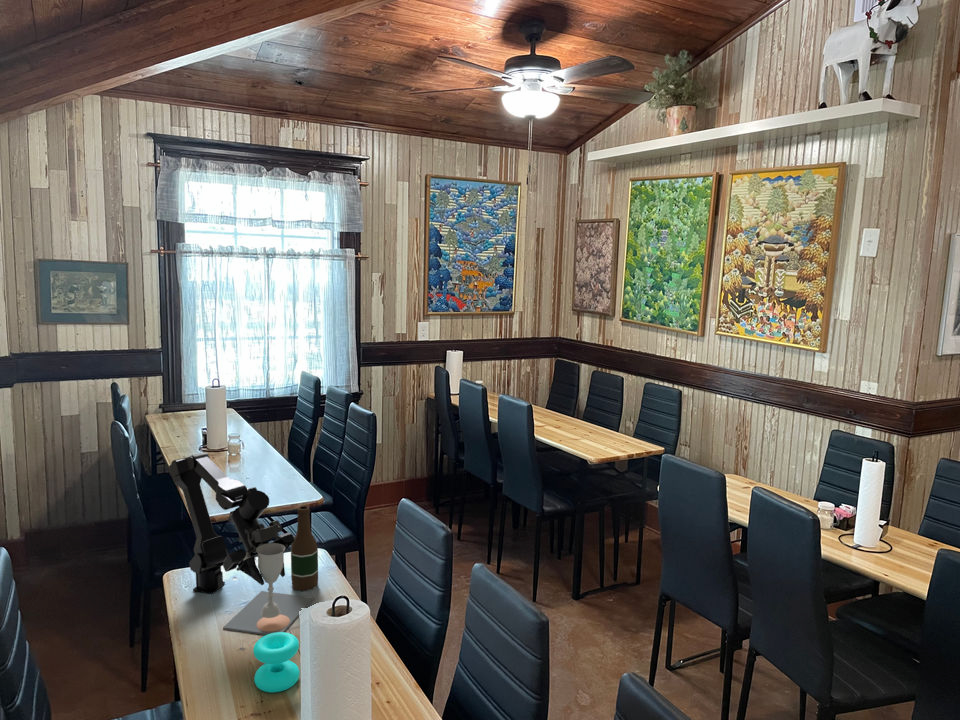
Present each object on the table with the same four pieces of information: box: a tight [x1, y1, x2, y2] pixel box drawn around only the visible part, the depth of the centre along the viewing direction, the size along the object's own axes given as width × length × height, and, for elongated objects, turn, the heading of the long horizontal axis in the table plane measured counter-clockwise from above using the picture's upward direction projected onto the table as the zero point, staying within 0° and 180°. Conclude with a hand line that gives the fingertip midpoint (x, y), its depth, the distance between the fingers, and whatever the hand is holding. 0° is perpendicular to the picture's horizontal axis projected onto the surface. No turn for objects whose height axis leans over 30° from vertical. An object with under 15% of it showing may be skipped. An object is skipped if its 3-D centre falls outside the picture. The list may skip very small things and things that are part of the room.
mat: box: [222, 590, 315, 636], centre depth 191 cm, size 16×20×1 cm
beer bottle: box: [290, 505, 319, 592], centre depth 206 cm, size 8×8×24 cm
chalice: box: [256, 542, 286, 618], centre depth 183 cm, size 7×7×18 cm
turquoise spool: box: [253, 631, 300, 693], centre depth 161 cm, size 10×10×10 cm
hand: (273, 580), depth 183 cm, fingers closed on chalice, 6 cm apart
